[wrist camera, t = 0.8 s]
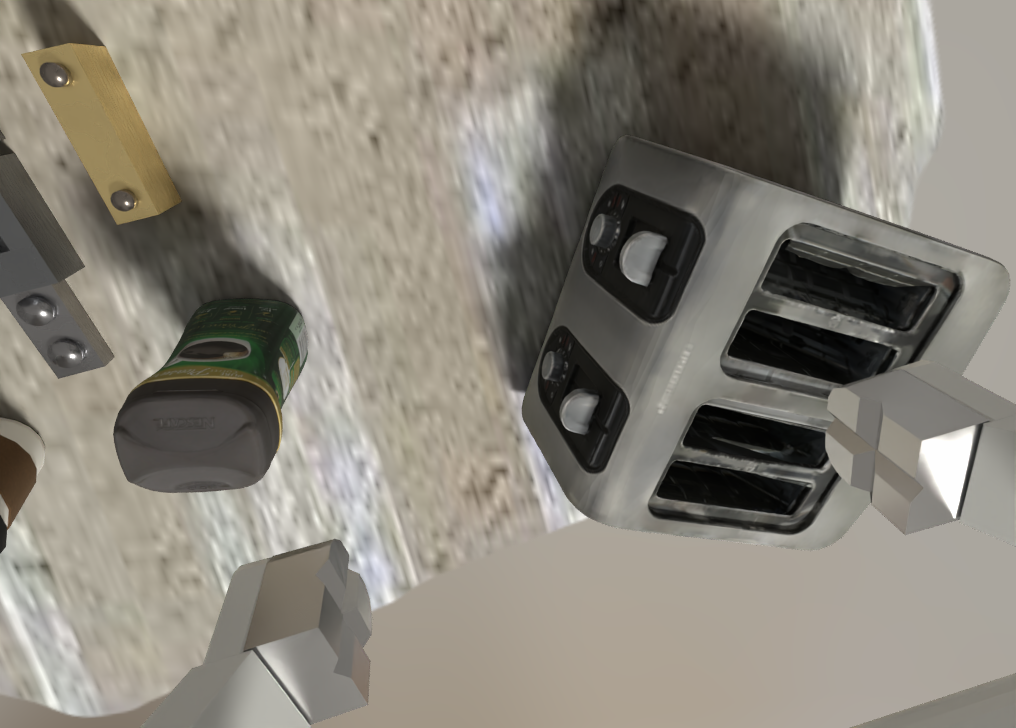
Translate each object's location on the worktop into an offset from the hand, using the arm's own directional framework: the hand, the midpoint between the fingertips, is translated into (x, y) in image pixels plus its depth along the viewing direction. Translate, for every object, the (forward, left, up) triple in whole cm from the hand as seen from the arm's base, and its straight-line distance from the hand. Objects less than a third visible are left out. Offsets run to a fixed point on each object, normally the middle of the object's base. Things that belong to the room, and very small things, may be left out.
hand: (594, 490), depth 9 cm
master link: (-7, -22, -43) cm, 49 cm away
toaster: (+21, +21, -43) cm, 52 cm away
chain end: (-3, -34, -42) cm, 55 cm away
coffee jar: (+11, -20, -43) cm, 49 cm away
